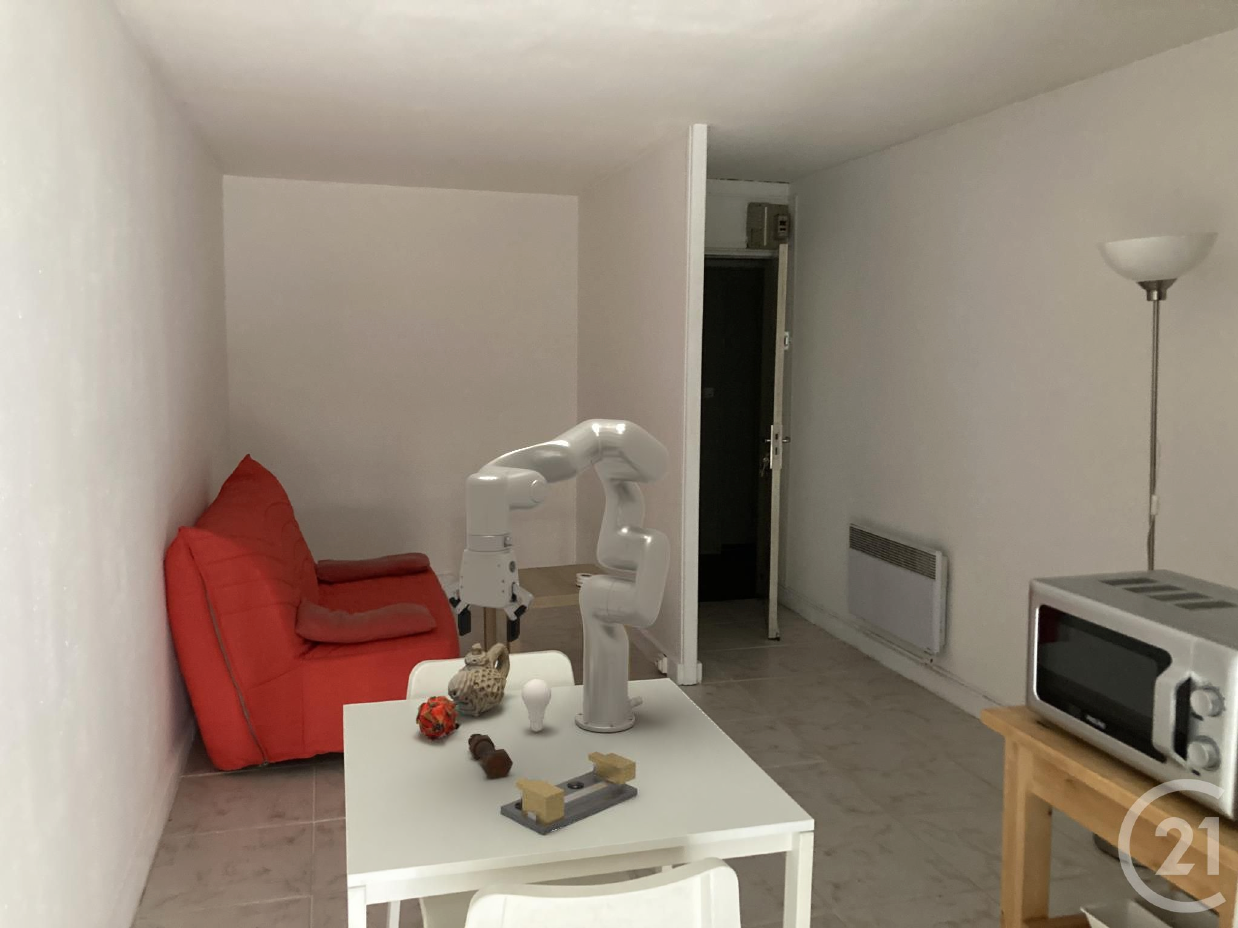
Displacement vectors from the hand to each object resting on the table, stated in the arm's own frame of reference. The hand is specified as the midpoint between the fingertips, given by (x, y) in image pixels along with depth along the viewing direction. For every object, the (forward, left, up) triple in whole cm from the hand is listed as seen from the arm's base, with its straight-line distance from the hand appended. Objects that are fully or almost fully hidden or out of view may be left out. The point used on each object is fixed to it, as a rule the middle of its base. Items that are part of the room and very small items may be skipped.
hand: (488, 636), depth 182 cm
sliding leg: (-14, +17, -25) cm, 34 cm away
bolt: (-5, -7, -28) cm, 29 cm away
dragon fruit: (-7, -25, -27) cm, 38 cm away
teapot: (-22, -31, -27) cm, 47 cm away
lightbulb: (-23, -13, -27) cm, 38 cm away
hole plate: (-5, +17, -27) cm, 32 cm away
